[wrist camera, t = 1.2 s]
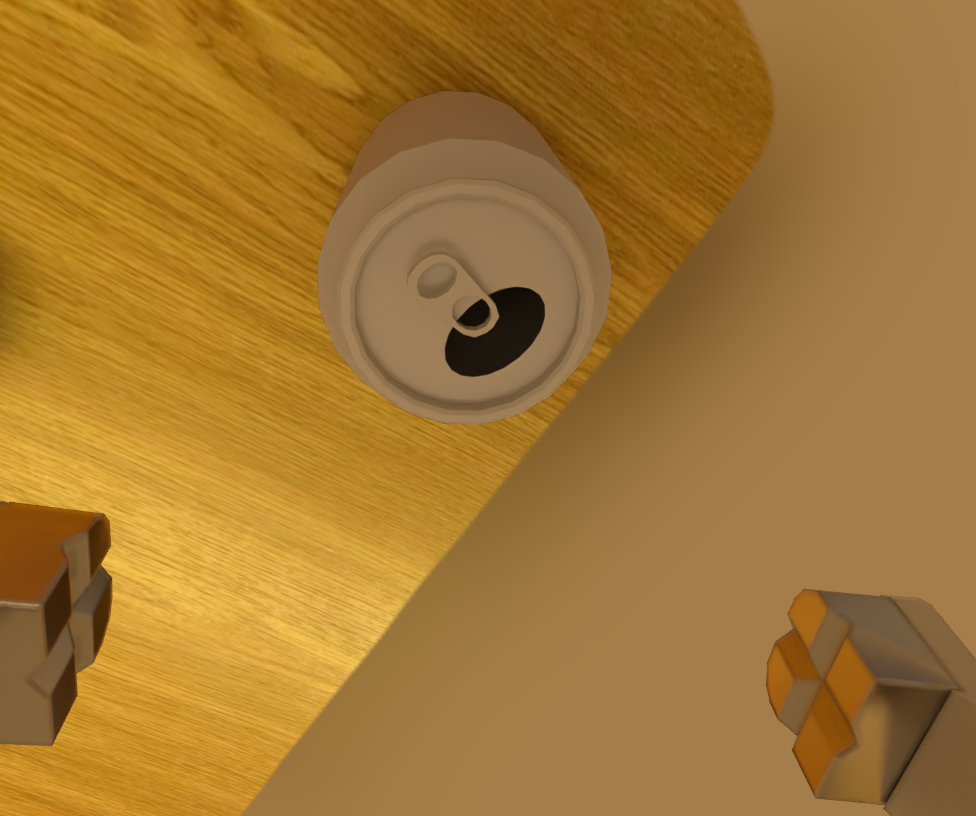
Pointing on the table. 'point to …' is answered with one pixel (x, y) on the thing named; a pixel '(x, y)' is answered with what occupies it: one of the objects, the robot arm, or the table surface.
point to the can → (462, 263)
